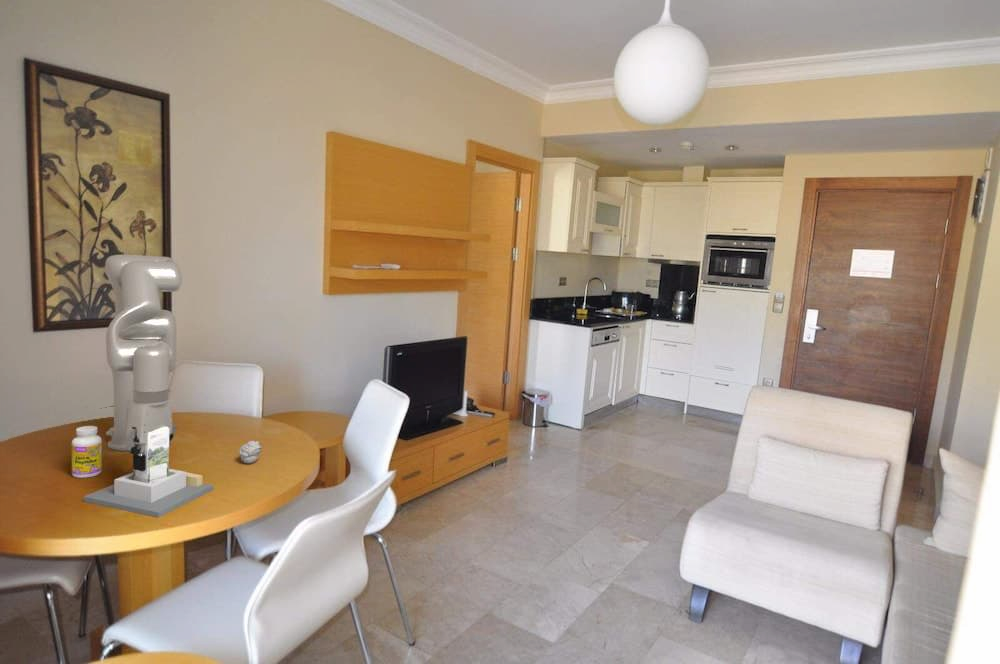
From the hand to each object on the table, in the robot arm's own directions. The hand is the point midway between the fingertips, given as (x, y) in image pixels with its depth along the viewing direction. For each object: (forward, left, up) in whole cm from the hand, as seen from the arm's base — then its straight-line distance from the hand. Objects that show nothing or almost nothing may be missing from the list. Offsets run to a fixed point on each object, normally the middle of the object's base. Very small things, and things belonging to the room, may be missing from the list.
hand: (151, 464), depth 148 cm
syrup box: (0, 0, -5) cm, 5 cm away
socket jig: (0, 0, -8) cm, 8 cm away
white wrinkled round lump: (+7, +29, -8) cm, 31 cm away
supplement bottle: (-25, +4, -8) cm, 27 cm away
